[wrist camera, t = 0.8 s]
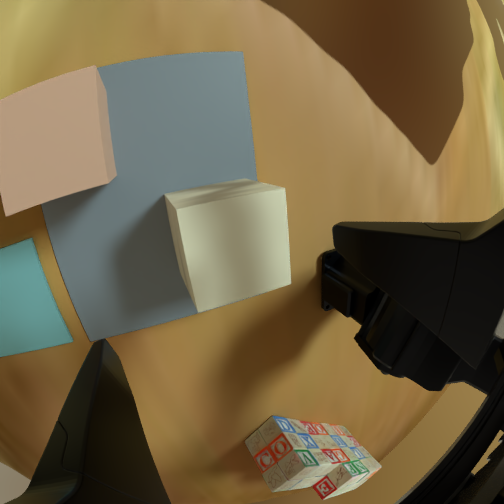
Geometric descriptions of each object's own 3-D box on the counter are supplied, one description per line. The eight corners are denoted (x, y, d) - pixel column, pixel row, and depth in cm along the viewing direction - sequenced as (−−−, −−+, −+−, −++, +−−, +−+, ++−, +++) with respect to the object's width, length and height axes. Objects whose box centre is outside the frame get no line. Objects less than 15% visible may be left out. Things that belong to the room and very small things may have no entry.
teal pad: (32, 237, 15) (31, 238, 15) (73, 339, 19) (72, 341, 19) (-43, 266, 12) (-45, 267, 12) (-1, 355, 16) (-2, 357, 16)
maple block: (244, 178, 20) (285, 188, 15) (253, 253, 23) (291, 283, 18) (164, 194, 18) (176, 209, 13) (180, 272, 21) (198, 312, 16)
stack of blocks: (241, 441, 32) (282, 510, 21) (271, 413, 32) (320, 484, 21) (321, 446, 43) (356, 489, 32) (344, 425, 43) (383, 467, 32)
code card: (242, 52, 17) (243, 51, 17) (267, 291, 25) (268, 292, 25) (27, 91, 12) (27, 90, 12) (90, 341, 20) (90, 341, 19)
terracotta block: (106, 91, 14) (95, 65, 9) (116, 175, 17) (108, 183, 12) (28, 116, 12) (-9, 104, 7) (39, 198, 15) (5, 216, 10)
